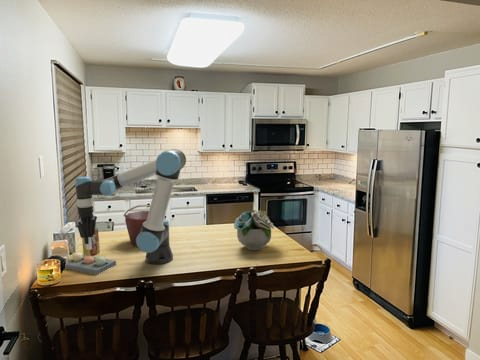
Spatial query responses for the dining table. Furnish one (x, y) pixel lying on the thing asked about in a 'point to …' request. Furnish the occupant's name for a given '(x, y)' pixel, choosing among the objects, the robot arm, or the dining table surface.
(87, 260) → the terracotta button
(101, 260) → the sage button
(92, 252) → the candy box
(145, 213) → the bucket
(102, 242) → the dining table surface
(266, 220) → the flower arrangement
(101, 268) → the slate board
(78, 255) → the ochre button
